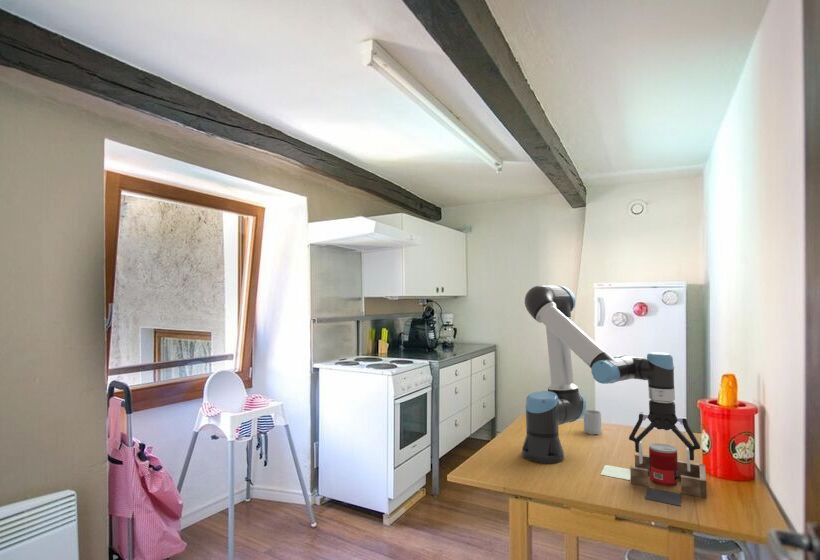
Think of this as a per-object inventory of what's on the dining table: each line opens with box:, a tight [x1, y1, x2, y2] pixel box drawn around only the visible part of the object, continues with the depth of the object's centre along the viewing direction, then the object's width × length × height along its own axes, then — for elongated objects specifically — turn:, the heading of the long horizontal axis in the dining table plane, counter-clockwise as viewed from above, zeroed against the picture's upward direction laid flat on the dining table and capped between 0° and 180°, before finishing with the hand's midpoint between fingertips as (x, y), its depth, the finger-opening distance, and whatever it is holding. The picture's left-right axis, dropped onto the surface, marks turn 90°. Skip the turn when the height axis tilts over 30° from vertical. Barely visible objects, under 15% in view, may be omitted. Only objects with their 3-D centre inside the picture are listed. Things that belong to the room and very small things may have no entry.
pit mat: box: [644, 486, 682, 507], centre depth 137 cm, size 9×9×1 cm
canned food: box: [648, 443, 679, 487], centre depth 148 cm, size 8×8×11 cm
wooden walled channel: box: [629, 453, 707, 499], centre depth 147 cm, size 20×15×5 cm
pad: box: [600, 464, 631, 481], centre depth 155 cm, size 9×10×1 cm
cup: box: [583, 409, 602, 435], centre depth 201 cm, size 7×10×9 cm
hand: (664, 466), depth 148 cm, fingers open, 13 cm apart
